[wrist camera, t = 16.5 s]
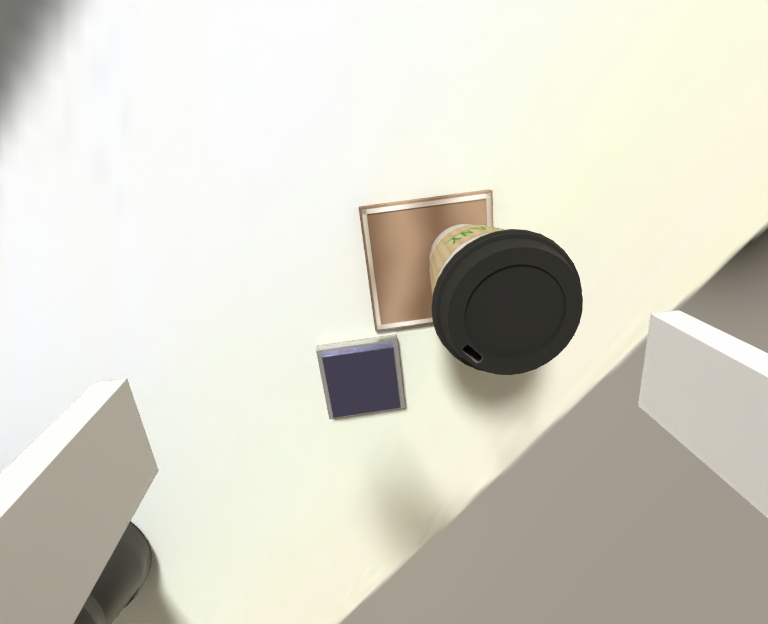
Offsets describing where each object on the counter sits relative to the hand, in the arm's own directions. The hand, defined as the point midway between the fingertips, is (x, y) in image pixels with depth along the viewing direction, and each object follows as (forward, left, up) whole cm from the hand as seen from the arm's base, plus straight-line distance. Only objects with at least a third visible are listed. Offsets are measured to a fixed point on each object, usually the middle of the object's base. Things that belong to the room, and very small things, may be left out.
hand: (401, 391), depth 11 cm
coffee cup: (+9, -5, -30) cm, 32 cm away
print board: (+6, -5, -31) cm, 32 cm away
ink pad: (-2, -16, -31) cm, 35 cm away
